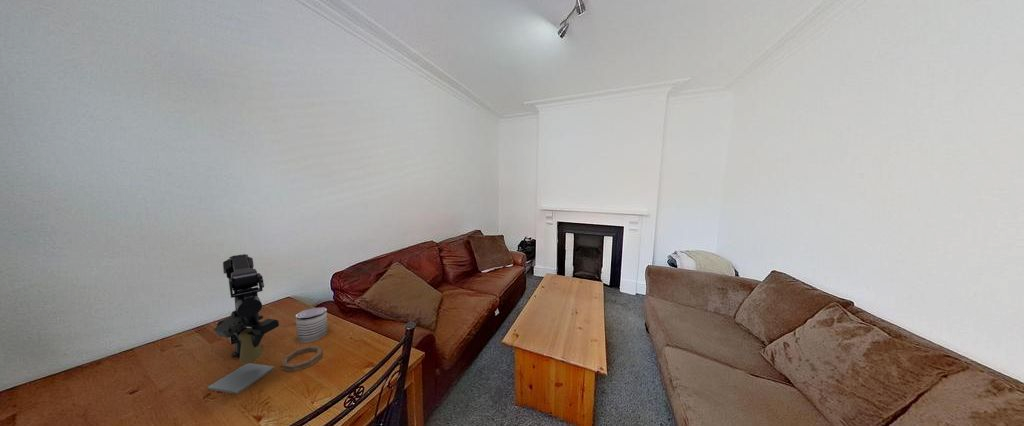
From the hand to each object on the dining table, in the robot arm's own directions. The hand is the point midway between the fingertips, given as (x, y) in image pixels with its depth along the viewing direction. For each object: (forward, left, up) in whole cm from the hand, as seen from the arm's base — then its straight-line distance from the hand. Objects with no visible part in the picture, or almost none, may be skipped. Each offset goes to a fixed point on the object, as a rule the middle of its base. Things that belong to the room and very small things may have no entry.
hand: (250, 345), depth 91 cm
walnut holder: (+10, +10, -12) cm, 19 cm away
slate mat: (-2, -2, -12) cm, 12 cm away
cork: (0, 0, -5) cm, 5 cm away
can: (-1, +25, -12) cm, 28 cm away
